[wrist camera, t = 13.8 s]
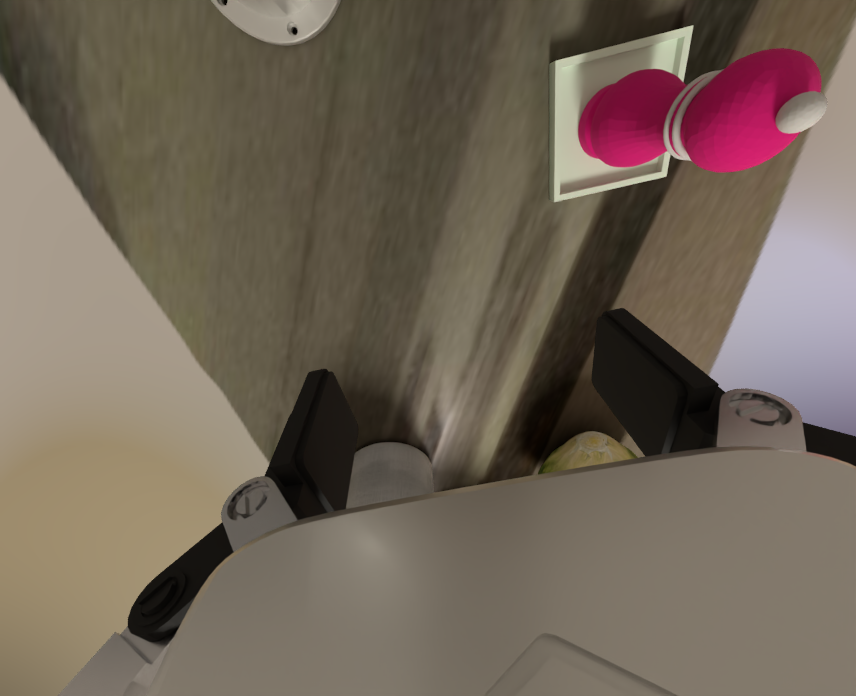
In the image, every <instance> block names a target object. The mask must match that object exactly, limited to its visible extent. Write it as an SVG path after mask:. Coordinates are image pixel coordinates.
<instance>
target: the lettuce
mask: <svg viewBox="0 0 856 696" xmlns="http://www.w3.org/2000/svg"><path fill="white" fill-rule="evenodd" d="M634 458H638V457H637V456H636V455H635V454H634V453H633V452H632V451H631V450H629V449H628V448H626V447H625V446H623V445H622V444H620V443H618V442H617V441H616V440H615V439H613V438H611V437H610V436H608V435H606V434H604V433H600V432H596V431H588V432H584V433H580V434H578V435H576V436H574V437H573V438H571V439H570V440H568V441H567V442H566V443H565V444H563V445H562V446H560V447H558V448H557V449H555V450H554V451H553V452H552V453H551V454H550V455H549V457H548V458H547V459H546V461H545V462H544V464H543V465H542V466H541V468H540V470H539V472H538V474H544V473H550V472H556V471H562V470H568V469H574V468H580V467H586V466H592V465H598V464H604V463H610V462H616V461H622V460H628V459H634Z"/></svg>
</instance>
